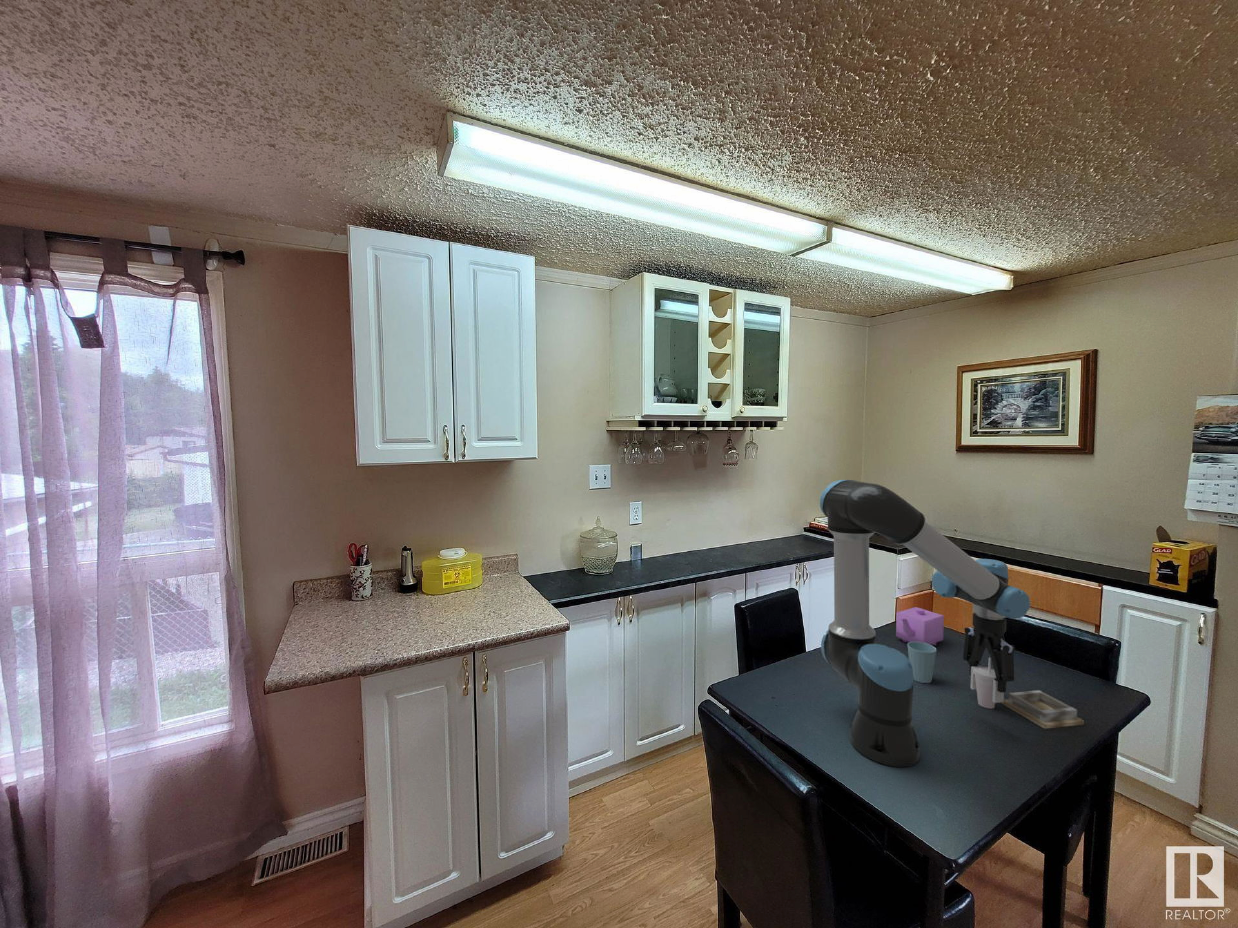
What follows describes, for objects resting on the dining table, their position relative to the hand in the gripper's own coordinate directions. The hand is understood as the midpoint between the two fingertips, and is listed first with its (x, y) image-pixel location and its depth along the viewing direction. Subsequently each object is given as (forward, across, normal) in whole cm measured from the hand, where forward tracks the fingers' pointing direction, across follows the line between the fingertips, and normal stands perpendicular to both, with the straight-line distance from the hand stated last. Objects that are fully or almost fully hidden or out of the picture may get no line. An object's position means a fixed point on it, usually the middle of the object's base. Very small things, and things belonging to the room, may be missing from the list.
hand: (986, 694), depth 136 cm
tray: (+3, -6, -11) cm, 13 cm away
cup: (+3, +16, +7) cm, 18 cm away
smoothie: (+3, 0, 0) cm, 3 cm away
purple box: (+3, +40, -11) cm, 41 cm away
